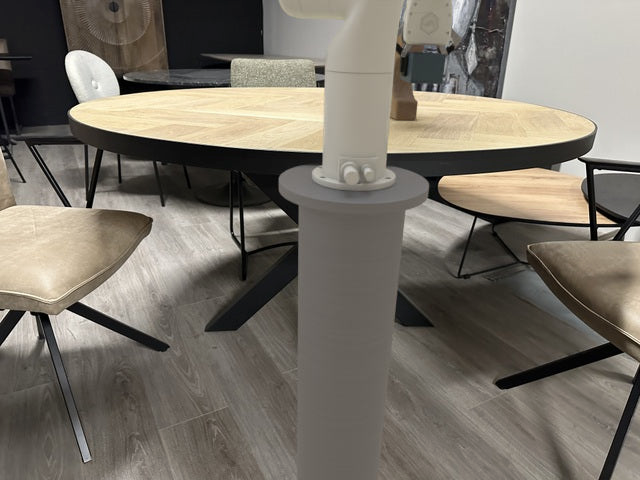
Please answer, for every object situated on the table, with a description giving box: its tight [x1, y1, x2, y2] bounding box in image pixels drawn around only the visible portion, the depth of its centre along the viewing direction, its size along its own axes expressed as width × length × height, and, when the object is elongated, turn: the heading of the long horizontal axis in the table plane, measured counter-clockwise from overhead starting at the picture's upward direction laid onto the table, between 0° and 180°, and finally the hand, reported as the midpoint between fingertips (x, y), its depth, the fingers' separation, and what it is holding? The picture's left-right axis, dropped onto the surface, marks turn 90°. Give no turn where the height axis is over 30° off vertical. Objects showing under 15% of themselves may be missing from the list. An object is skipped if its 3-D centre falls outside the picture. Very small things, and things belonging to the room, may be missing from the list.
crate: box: [400, 51, 446, 85], centre depth 105 cm, size 11×7×6 cm, turn 2°
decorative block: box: [390, 35, 425, 121], centre depth 120 cm, size 11×6×20 cm, turn 8°
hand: (420, 75), depth 106 cm, fingers closed on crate, 7 cm apart
